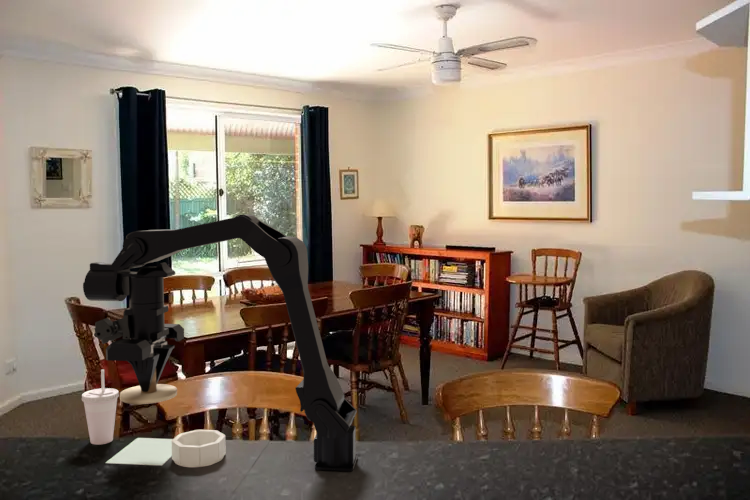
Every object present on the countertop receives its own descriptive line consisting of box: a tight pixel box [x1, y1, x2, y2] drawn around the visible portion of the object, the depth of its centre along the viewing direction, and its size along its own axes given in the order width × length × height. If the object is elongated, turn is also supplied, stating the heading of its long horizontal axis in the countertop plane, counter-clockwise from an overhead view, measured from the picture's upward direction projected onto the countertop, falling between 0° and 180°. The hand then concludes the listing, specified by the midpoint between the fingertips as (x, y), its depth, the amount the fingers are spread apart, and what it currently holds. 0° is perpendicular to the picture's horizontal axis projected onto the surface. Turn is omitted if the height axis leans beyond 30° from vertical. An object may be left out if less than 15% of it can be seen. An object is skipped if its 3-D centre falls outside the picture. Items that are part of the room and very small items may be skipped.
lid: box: [119, 368, 178, 405], centre depth 116 cm, size 10×10×5 cm
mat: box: [105, 437, 174, 467], centre depth 117 cm, size 10×12×1 cm
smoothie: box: [81, 369, 120, 446], centre depth 121 cm, size 6×6×14 cm
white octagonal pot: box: [171, 429, 227, 468], centre depth 114 cm, size 8×8×4 cm
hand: (149, 389), depth 116 cm, fingers closed on lid, 3 cm apart
